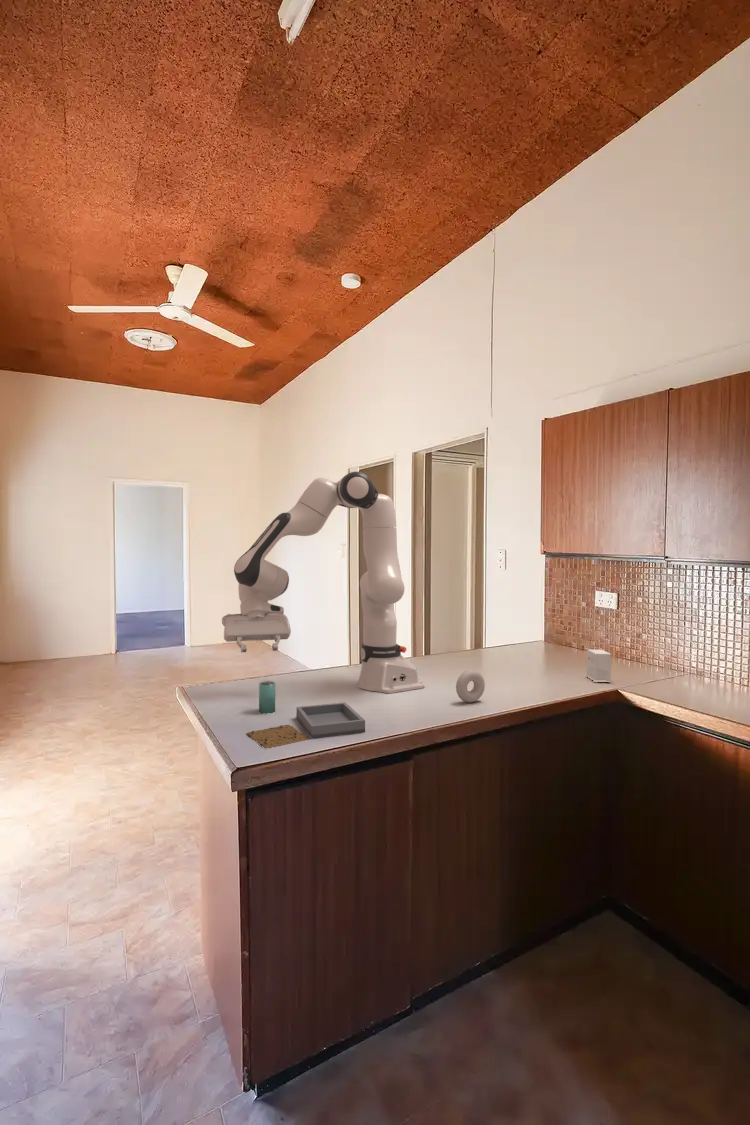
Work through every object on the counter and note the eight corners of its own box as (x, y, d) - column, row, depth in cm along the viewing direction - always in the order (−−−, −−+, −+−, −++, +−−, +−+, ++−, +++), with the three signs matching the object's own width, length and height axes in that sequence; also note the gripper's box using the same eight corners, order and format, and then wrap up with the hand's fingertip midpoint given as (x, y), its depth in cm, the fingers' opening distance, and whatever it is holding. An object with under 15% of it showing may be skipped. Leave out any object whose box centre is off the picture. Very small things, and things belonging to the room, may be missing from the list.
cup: (273, 708, 156) (273, 680, 155) (276, 713, 151) (277, 684, 151) (257, 709, 154) (258, 681, 154) (260, 714, 150) (260, 685, 149)
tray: (345, 712, 153) (345, 702, 153) (365, 732, 138) (365, 720, 138) (296, 717, 148) (296, 706, 148) (311, 738, 133) (311, 726, 133)
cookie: (265, 751, 125) (265, 747, 125) (244, 735, 135) (244, 731, 135) (310, 741, 132) (310, 737, 132) (288, 726, 142) (288, 722, 142)
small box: (610, 683, 192) (611, 654, 191) (594, 683, 192) (595, 653, 191) (601, 677, 200) (602, 649, 199) (586, 677, 200) (587, 649, 199)
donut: (479, 698, 169) (480, 667, 169) (486, 702, 166) (487, 669, 166) (453, 702, 165) (454, 670, 164) (459, 705, 162) (460, 672, 161)
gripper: (222, 608, 166) (225, 646, 158) (288, 607, 174) (294, 643, 165) (220, 620, 171) (223, 658, 162) (284, 618, 178) (290, 654, 169)
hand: (259, 650), depth 164 cm, fingers open, 8 cm apart
